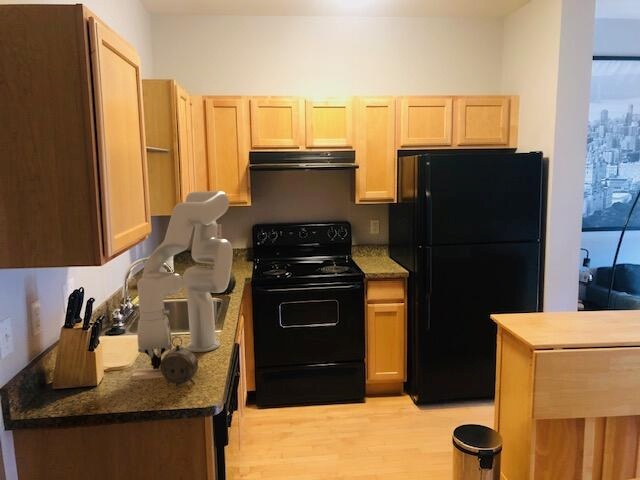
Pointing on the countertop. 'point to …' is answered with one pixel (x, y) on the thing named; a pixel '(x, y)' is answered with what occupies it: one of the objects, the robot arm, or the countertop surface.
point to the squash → (231, 283)
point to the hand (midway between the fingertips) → (156, 367)
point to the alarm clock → (179, 365)
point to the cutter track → (147, 373)
